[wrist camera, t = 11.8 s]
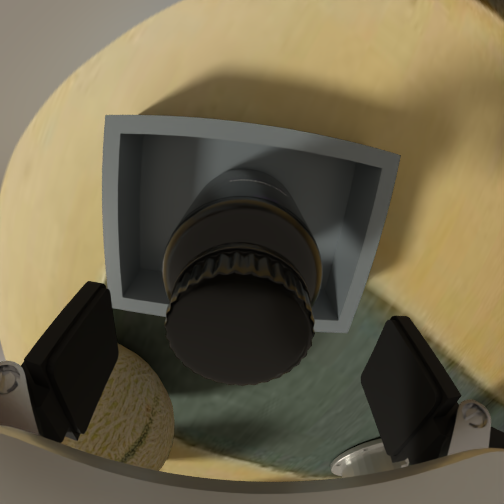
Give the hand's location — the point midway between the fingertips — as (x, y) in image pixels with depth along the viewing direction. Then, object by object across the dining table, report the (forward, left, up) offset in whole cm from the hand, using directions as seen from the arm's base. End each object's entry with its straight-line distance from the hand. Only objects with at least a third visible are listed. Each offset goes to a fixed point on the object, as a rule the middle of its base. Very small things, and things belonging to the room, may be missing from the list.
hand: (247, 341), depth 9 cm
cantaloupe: (+11, +16, -13) cm, 24 cm away
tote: (0, -1, -13) cm, 13 cm away
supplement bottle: (0, 0, -12) cm, 12 cm away
